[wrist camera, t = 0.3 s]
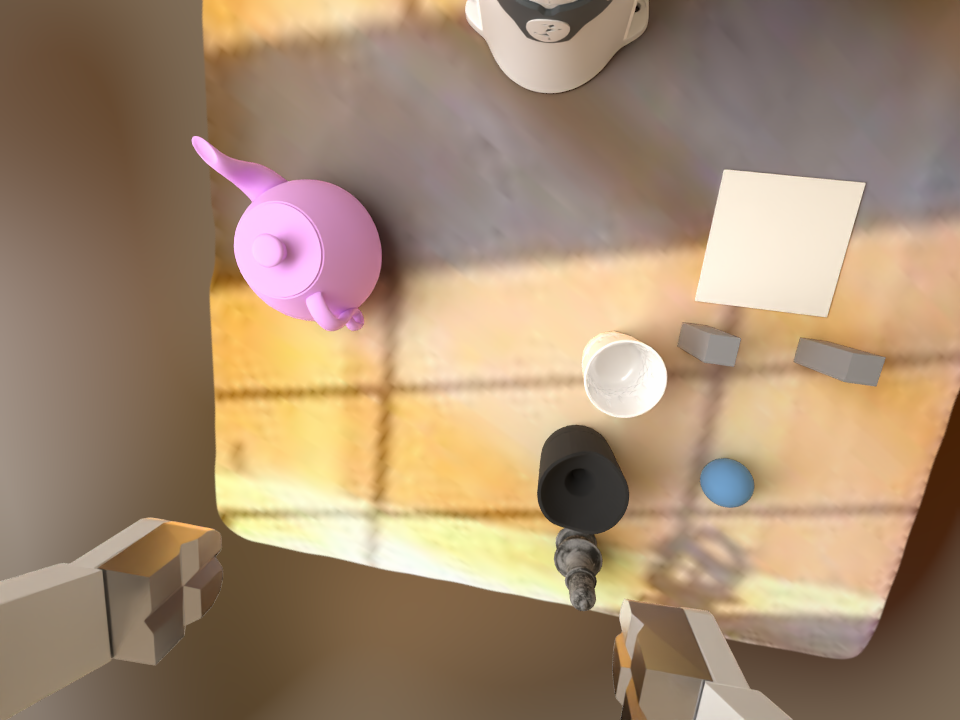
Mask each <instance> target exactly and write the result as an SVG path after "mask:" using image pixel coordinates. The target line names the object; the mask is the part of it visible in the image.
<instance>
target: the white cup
mask: <svg viewBox="0 0 960 720" xmlns="http://www.w3.org/2000/svg"><path fill="white" fill-rule="evenodd" d="M582 373H583V379H584V385H585V390H586V393H587V395H588V397H589V399H590V400H591V402H592V403H593V404H594V405H595V406H596V407H597V408H598V409H599V410H601V411H602V412H604V413H606V414H608V415H611V416H614V417H620V418H629V417H635V416H639V415H641V414H644V413H646V412H647V411H649V410H650V409H652V408H653V407H654V406H655V405H656V404H657V403H658V402H659V401H660V399H661V398H662V396H663V394H664V392H665V389H666V385H667V370H666V367H665V364H664V362H663V360H662V358H661V357H660V355H659V354H658V353H657V352H656V351H655V350H654V349H653V348H651V347H650V346H648V345H646V344H645V343H643V342H641V341H639V340H638V339H636V338H634V337H631V336H629V335H626V334H622V333H619V332H616V331H611V332H603V333H600V334H599V335H597V336H595V337H594V338H592V339H591V340H590V341H589V342H588V344H587V345H586V347H585V349H584V350H583V357H582Z"/></svg>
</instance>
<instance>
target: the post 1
mask: <svg viewBox="0 0 960 720" xmlns="http://www.w3.org/2000/svg"><path fill="white" fill-rule="evenodd" d="M740 341H741V338H739V337H736V336H734V335H731V334H728V333H726V332H723V331H721V330H718V329H715V328H713V327H710V326H707V325H699V324H691V323H684V322H682V327H681V332H680V336H679V341H678V345H677V346H678V347H680V348H681V349H683V350H684V351H686V352H688V353H689V354H691V355H693V356H694V357H696V358H697V359H699V360H701V361H702V362H704V363H711V364H718V365H725V366H732V367H734V365H735V361H736V357H737V353H738V349H739V345H740Z"/></svg>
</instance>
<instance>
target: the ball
mask: <svg viewBox="0 0 960 720" xmlns="http://www.w3.org/2000/svg"><path fill="white" fill-rule="evenodd" d="M700 483H701V487H702V490H703V492H704V494H705V495H706V496H707V497H708V498H709V499H710V500H711V501H712V502H714V503H715V504H717V505H720V506H723V507H729V508H732V507H738V506H741V505H743V504H745V503H746V502H747V501H748V500H749V499H750V498H751V496H752V494H753V491H754V480H753V477H752V475H751V473H750V472H749V470H748V469H747V468H746V467H745V466H744V465H742V464H741V463H739V462H737V461H735V460H732V459H727V458H721V459H716V460H713V461H711V462H710V463H708V464H707V465H706V466H705V467H704V469H703V471H702V473H701V477H700Z"/></svg>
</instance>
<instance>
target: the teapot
mask: <svg viewBox="0 0 960 720" xmlns="http://www.w3.org/2000/svg"><path fill="white" fill-rule="evenodd" d="M192 143H193V146H194V148H195V150H196V151H197V153H198V154H199V155H200V157H201V158H202V159H203V160H204V161H205V162H206V163H207V164H209V165H210V166H211V167H212V168H213V169H215V170H216V171H217V172H219V173H220V174H221V175H223V176H224V177H226V178H227V179H228V180H230V181H231V182H233V183H234V184H235V185H236V186H237V187H239V188H240V189H241V190H242V191H243V192H244V193H245V194H246V195H247V196H248V197H249V198H250V199H251V200H252V203H251V204H250V206H249V207H248V208H247V209H246V211H245V212H244V214H243V216H242V217H241V219H240V221H239V223H238V226H237V229H236V232H235V238H234V250H235V257H236V261H237V264H238V267H239V269H240V271H241V273H242V275H243V277H244V279H245V280H246V281H247V283H248V284H249V286H250V287H251V288H252V290H253V291H254V292H255V293H256V294H257V295H258V296H259V297H260V298H261V299H262V300H263V301H264V302H266V303H267V304H268V305H269V306H271V307H272V308H274V309H276V310H277V311H279V312H281V313H283V314H285V315H288V316H291V317H294V318H297V319H302V320H308V321H316V322H317V323H318V324H319V325H320V326H321V327H322V328H324V329H325V330H328V331H335V330H338V329H340V328H342V327H344V326H345V325H346V326H347V327H348V329H350V330H352V331H356V330H359V329H361V328H362V326H363V325H364V318H363V315H362V313H361V311H360V310H359V309H358V307H359V306H360V305H361V304H362V303H364V302H365V301H366V299H367V298H368V297H369V295H370V294H371V293H372V291H373V289H374V287H375V285H376V283H377V281H378V278H379V274H380V270H381V263H382V251H381V243H380V239H379V235H378V232H377V229H376V226H375V224H374V222H373V220H372V218H371V216H370V215H369V213H368V212H367V210H366V209H365V207H364V206H363V205H362V204H361V203H360V202H359V201H358V200H357V199H356V198H355V197H354V196H353V195H352V194H350V193H349V192H347V191H346V190H344V189H342V188H340V187H338V186H336V185H334V184H331V183H328V182H324V181H319V180H309V179H302V180H293V181H289V182H288V181H287V180H285V179H284V178H283V177H281V176H280V175H278V174H277V173H276V172H274V171H273V170H271V169H269V168H267V167H265V166H263V165H260V164H256V163H252V162H246V161H240V160H236V159H233V158H231V157H228V156H226V155H224V154H223V153H221V152H219V151H218V150H217V149H216V148H214V147H213V146H212V145H211V144H210V143H208V142H207V141H206V140H204V139H202V138H200V137H198V136H195V137H193V138H192Z"/></svg>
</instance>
